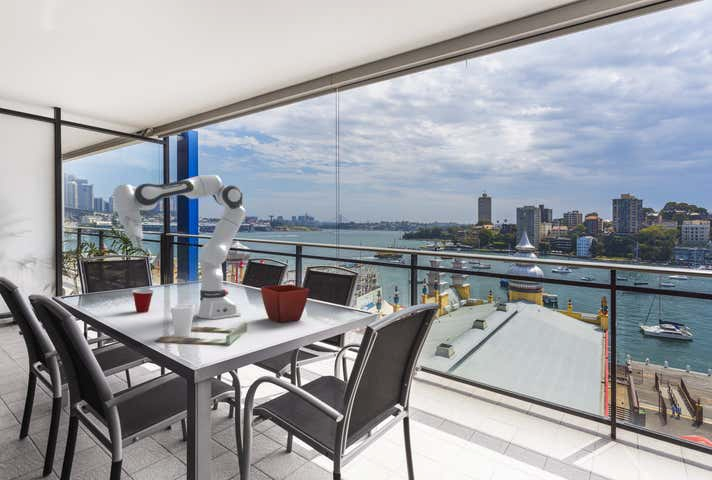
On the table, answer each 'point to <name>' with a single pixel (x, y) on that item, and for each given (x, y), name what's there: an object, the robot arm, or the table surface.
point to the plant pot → (284, 302)
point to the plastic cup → (142, 299)
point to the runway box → (230, 338)
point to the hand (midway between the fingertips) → (137, 247)
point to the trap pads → (198, 338)
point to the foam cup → (182, 319)
